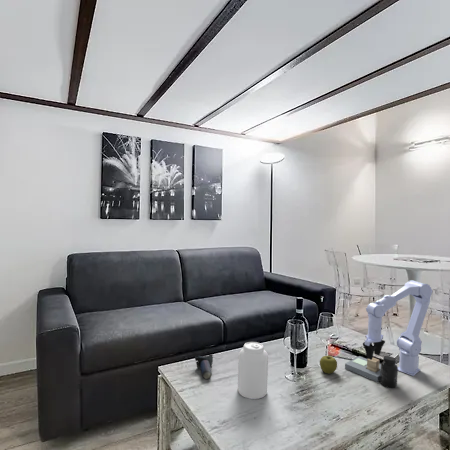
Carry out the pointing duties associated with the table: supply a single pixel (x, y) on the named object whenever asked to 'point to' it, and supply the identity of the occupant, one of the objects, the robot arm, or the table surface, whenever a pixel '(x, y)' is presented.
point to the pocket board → (363, 368)
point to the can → (252, 371)
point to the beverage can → (205, 365)
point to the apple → (328, 364)
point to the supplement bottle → (389, 372)
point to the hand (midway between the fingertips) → (373, 356)
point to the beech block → (373, 364)
